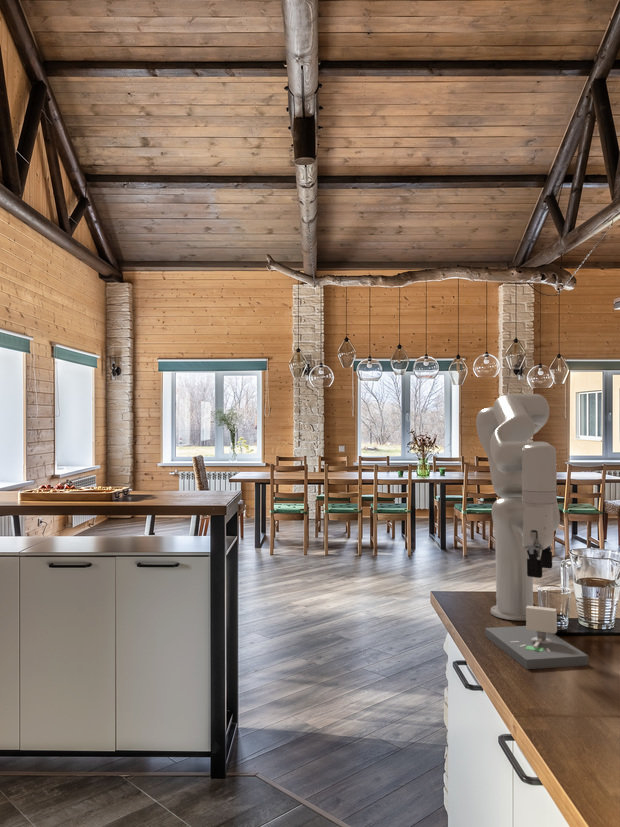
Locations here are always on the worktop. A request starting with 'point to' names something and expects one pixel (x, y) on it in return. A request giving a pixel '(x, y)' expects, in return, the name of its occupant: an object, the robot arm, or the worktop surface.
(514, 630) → the dial board
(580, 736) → the worktop surface
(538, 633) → the door lever handle
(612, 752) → the worktop surface
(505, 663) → the worktop surface
